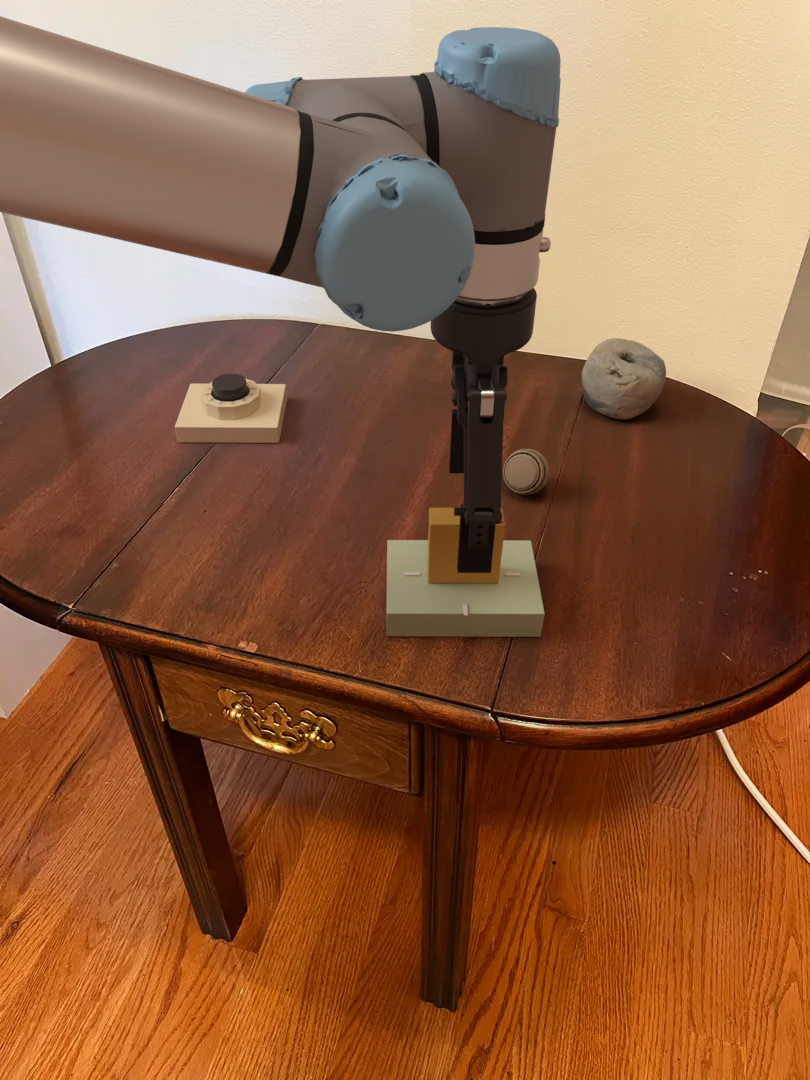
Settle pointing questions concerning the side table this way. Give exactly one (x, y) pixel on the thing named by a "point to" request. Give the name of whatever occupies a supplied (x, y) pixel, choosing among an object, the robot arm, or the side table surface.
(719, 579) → the side table surface
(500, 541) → the lock knob
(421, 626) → the plate
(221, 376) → the bell button
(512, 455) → the door knob
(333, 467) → the side table surface
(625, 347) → the stone
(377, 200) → the robot arm
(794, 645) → the side table surface
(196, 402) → the doorbell
